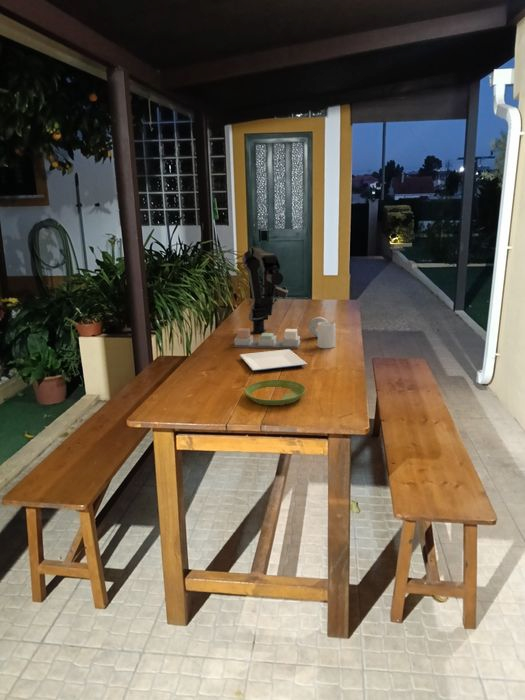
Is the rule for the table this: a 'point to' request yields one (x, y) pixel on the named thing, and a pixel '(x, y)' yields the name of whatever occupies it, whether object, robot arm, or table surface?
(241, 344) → the button panel
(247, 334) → the terracotta button
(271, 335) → the sage button
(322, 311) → the table surface
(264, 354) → the plate
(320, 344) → the mug
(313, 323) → the donut
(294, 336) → the cream button
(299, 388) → the saucer
